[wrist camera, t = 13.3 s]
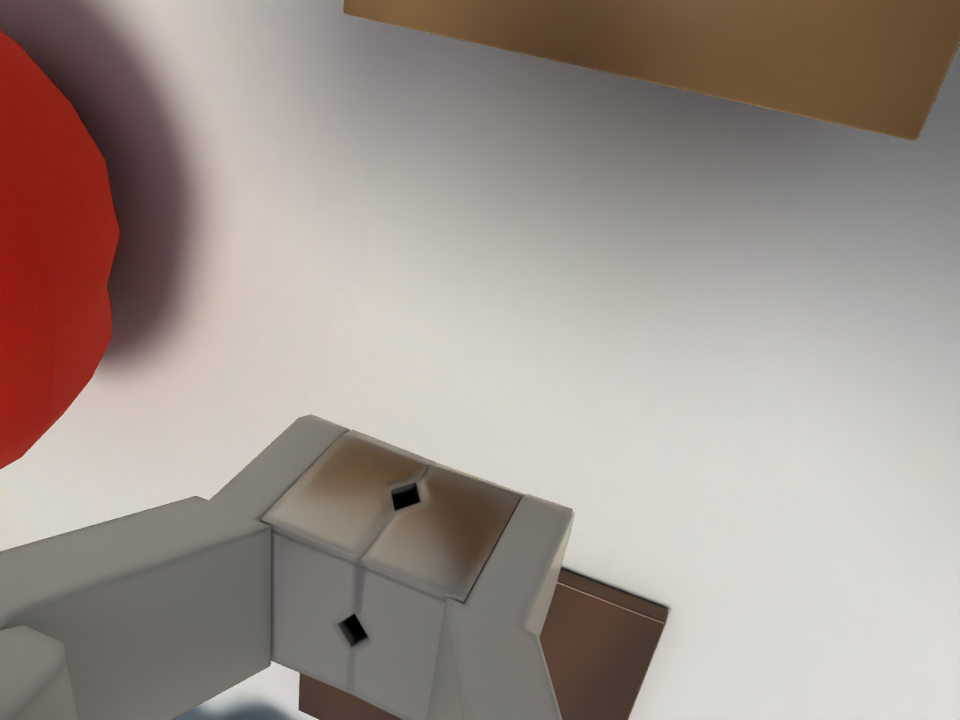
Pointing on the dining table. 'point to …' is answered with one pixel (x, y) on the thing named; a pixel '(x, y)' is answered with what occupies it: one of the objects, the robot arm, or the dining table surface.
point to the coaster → (557, 656)
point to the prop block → (727, 48)
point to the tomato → (48, 253)
